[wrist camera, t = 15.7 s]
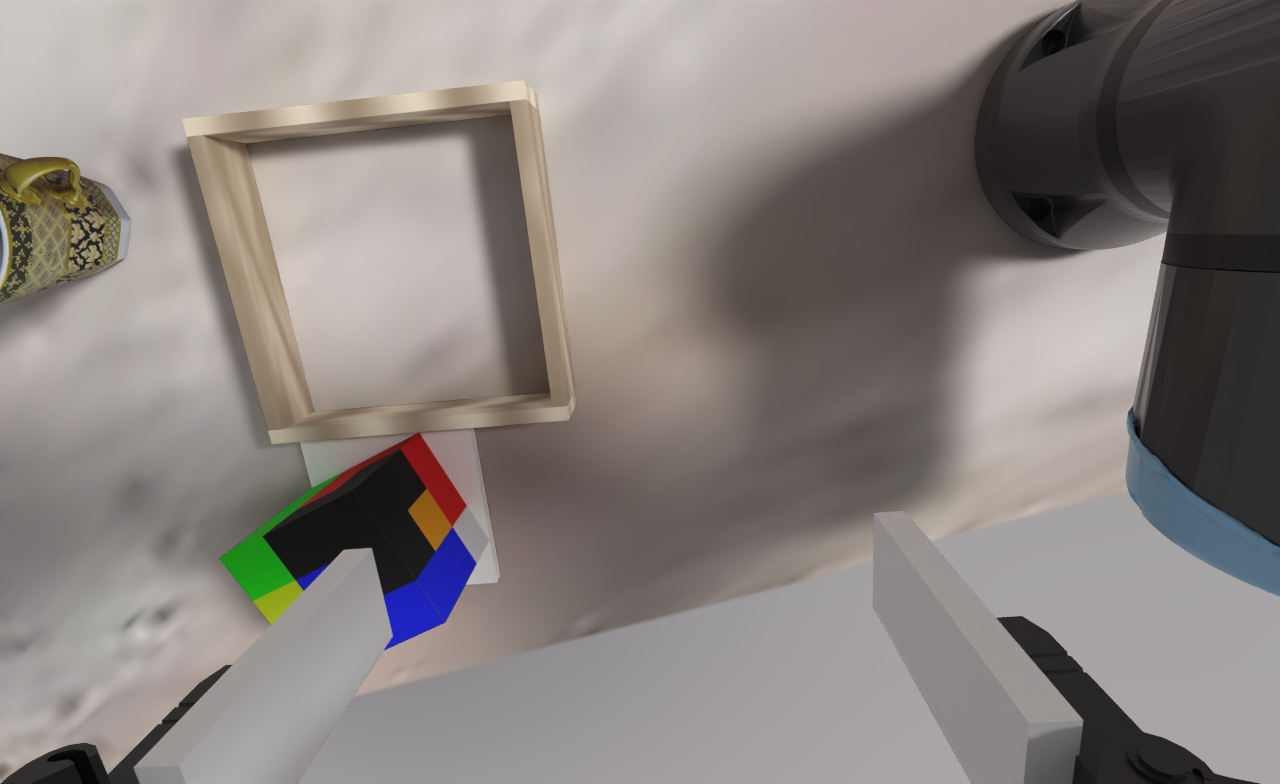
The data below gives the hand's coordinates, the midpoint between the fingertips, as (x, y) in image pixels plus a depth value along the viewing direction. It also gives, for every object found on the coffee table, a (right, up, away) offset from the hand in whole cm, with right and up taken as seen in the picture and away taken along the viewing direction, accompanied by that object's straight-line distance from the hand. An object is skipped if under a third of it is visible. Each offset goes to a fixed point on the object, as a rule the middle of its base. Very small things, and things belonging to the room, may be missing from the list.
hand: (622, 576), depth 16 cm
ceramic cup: (-37, +17, +26) cm, 49 cm away
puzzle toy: (-18, -5, +31) cm, 36 cm away
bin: (-16, +13, +27) cm, 34 cm away
